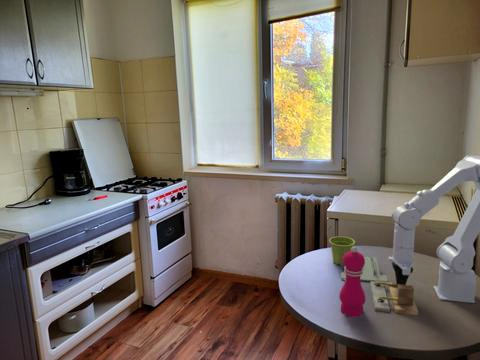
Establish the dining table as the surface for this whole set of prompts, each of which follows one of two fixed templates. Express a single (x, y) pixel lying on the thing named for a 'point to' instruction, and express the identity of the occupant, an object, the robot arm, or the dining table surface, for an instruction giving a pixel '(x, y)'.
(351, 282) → the pepper mill
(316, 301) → the dining table surface
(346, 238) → the plant pot
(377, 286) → the bolt strip
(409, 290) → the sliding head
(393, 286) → the trammel beam
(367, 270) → the metal bracket
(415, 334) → the dining table surface
